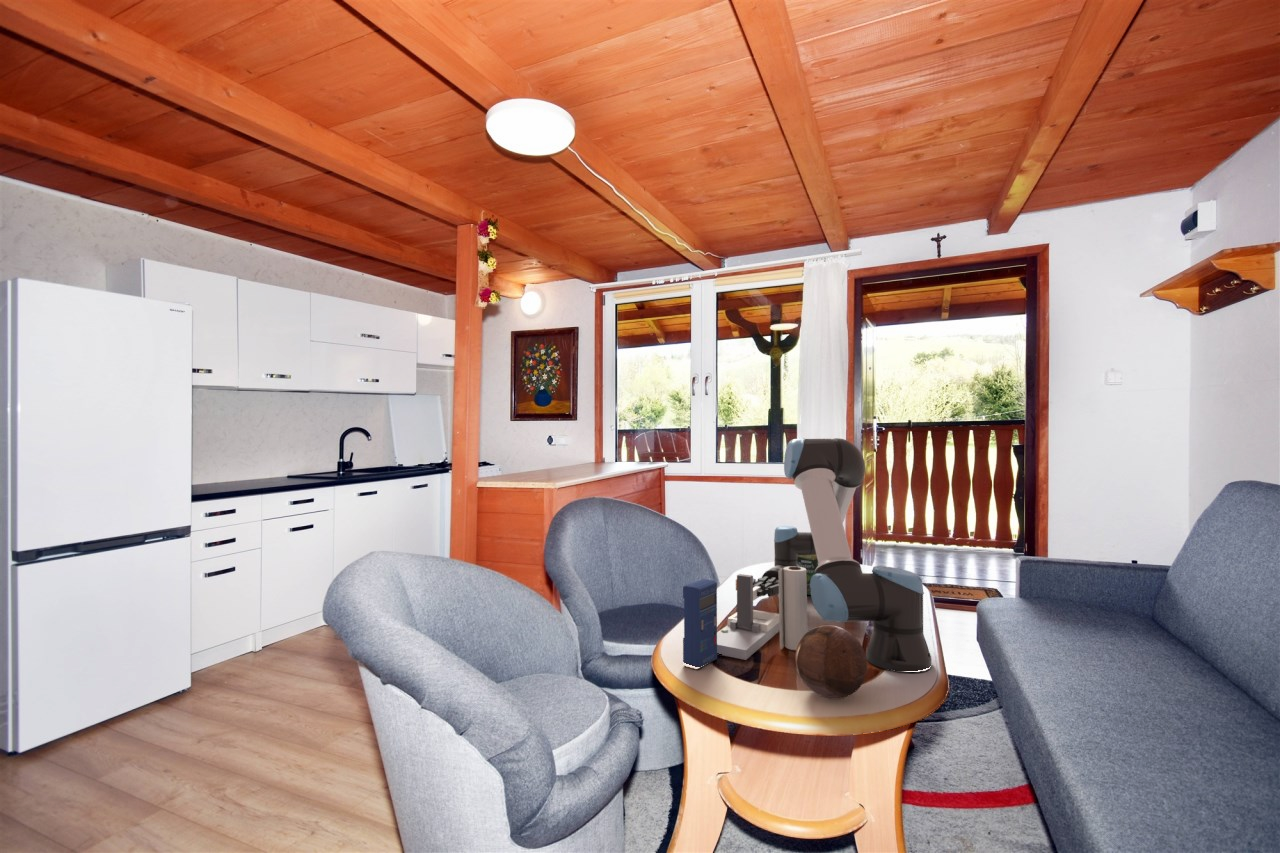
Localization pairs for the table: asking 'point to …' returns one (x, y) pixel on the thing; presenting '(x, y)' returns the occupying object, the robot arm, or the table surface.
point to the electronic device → (700, 622)
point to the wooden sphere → (831, 661)
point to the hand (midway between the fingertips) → (750, 595)
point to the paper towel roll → (792, 606)
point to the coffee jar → (808, 567)
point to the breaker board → (747, 635)
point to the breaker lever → (744, 601)
